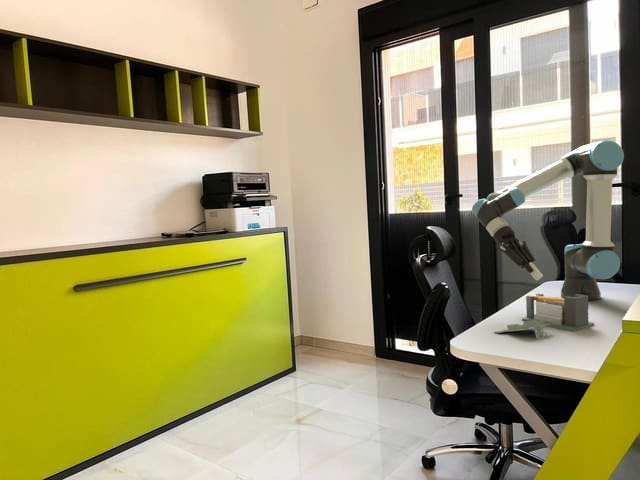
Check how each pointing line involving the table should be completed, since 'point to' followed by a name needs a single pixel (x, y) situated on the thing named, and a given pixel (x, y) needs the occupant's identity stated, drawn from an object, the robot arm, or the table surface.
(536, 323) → the metal bracket
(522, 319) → the grey green railed plate
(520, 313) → the table surface
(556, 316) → the heat sink
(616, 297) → the table surface
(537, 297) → the strap
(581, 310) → the slotted lug
